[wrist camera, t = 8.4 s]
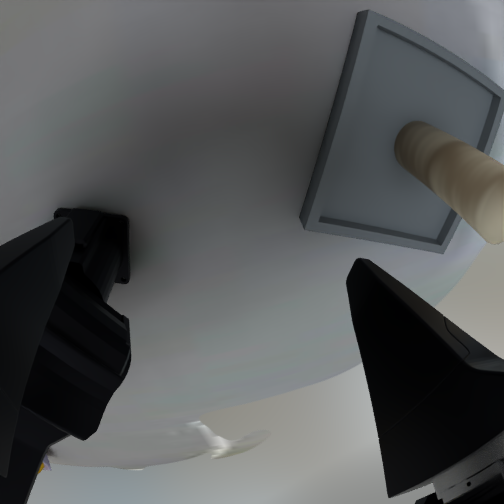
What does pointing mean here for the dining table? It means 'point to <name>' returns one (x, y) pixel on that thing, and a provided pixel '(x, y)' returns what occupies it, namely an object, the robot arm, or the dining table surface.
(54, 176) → the dining table surface
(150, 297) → the dining table surface
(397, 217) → the charcoal tray
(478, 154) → the dowel pin
